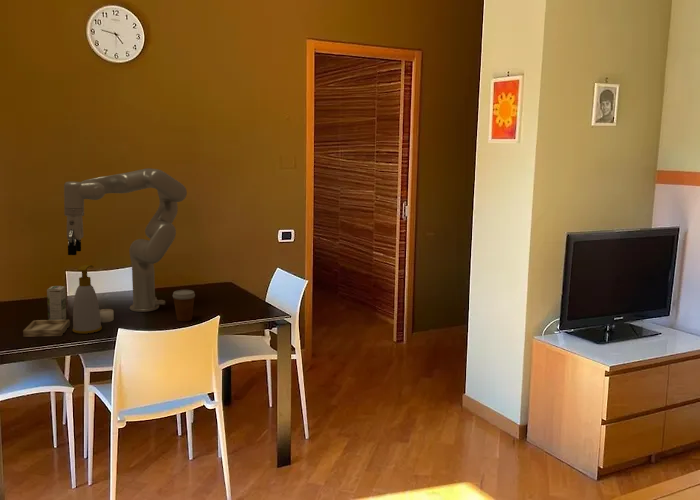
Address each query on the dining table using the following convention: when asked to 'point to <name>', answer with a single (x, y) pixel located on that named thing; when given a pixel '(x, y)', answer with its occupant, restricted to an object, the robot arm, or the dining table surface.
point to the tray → (46, 328)
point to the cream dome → (106, 315)
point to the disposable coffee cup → (184, 304)
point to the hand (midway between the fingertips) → (74, 253)
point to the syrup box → (56, 303)
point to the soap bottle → (86, 306)
